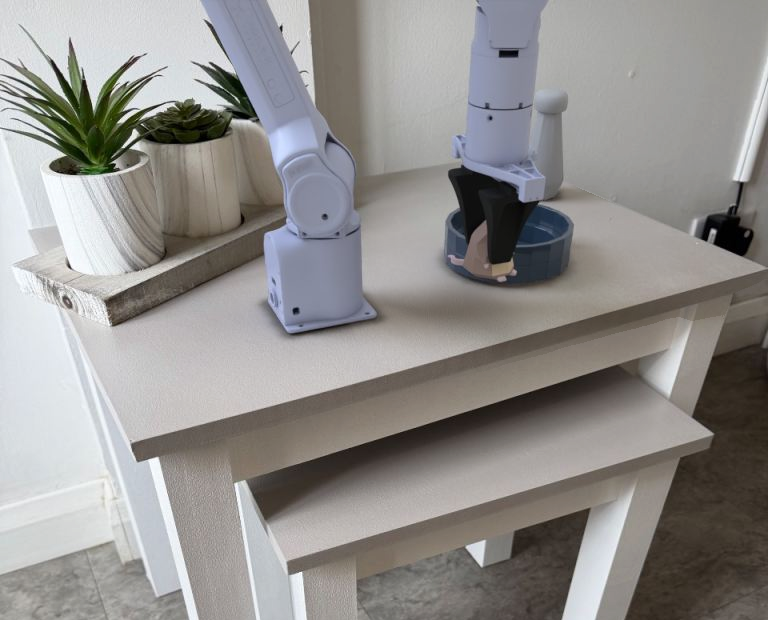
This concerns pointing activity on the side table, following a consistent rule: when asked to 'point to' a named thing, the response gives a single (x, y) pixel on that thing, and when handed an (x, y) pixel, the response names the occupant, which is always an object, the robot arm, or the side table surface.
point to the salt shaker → (549, 137)
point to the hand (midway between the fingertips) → (488, 252)
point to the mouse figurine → (483, 258)
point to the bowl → (522, 246)
